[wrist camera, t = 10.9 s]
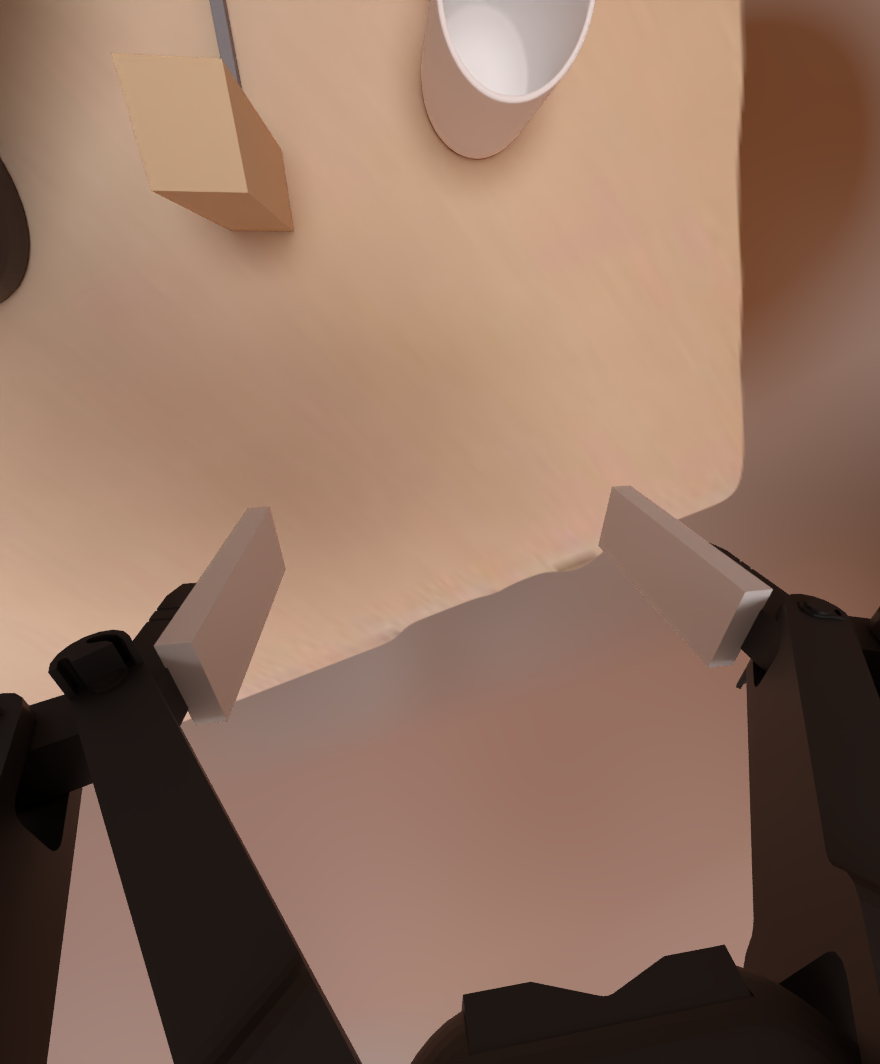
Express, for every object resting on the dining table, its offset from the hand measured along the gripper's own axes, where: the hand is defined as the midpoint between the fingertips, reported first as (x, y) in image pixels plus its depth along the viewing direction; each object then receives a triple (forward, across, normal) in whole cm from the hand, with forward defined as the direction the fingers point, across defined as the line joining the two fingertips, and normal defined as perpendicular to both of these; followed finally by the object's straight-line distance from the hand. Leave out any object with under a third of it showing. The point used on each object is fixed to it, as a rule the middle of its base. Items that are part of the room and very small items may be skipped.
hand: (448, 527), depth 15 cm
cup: (+27, +5, +23) cm, 36 cm away
